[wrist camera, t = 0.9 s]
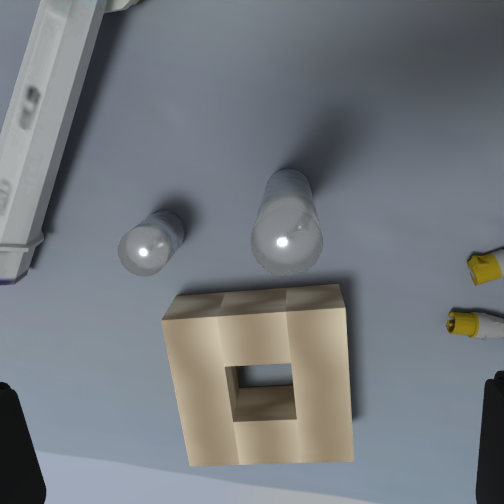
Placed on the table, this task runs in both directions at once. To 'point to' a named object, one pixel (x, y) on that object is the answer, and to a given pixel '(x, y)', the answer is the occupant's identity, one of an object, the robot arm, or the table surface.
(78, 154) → the table surface
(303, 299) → the bored block
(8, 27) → the table surface
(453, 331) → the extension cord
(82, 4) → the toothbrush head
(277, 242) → the long pin
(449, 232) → the table surface
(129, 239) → the short pin
